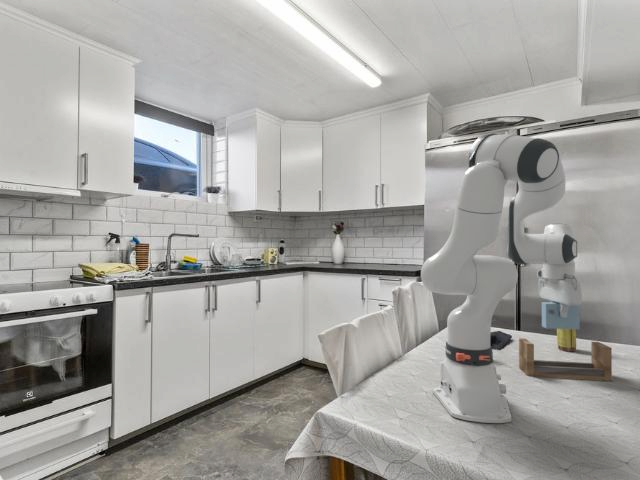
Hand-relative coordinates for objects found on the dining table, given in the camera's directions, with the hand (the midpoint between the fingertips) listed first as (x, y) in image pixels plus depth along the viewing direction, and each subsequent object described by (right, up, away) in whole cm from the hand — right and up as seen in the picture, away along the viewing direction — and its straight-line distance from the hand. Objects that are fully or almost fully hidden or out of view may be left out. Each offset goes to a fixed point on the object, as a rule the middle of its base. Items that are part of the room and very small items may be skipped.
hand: (559, 315), depth 118 cm
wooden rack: (0, -19, -1) cm, 19 cm away
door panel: (0, -4, 0) cm, 4 cm away
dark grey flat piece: (-6, -20, +36) cm, 42 cm away
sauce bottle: (+19, -19, +25) cm, 37 cm away
